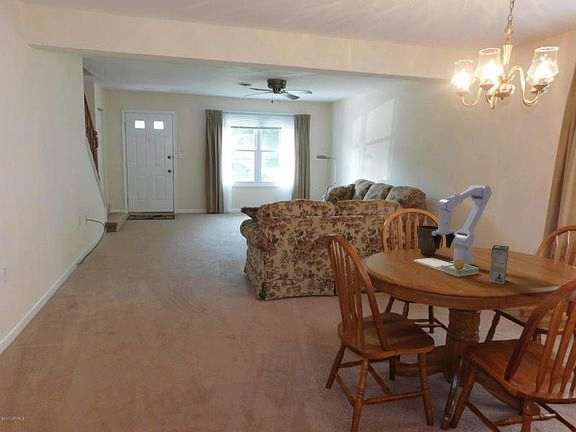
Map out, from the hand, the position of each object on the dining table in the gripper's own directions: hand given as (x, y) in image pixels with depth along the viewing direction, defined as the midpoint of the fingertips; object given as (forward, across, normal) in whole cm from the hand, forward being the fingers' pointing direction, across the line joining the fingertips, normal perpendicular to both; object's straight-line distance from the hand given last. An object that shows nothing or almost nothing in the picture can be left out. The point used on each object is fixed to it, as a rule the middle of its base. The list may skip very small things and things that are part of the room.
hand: (442, 248), depth 208 cm
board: (+9, +1, +3) cm, 10 cm away
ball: (+6, +1, +12) cm, 13 cm away
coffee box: (+10, -4, +30) cm, 32 cm away
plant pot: (+10, -14, -24) cm, 29 cm away
